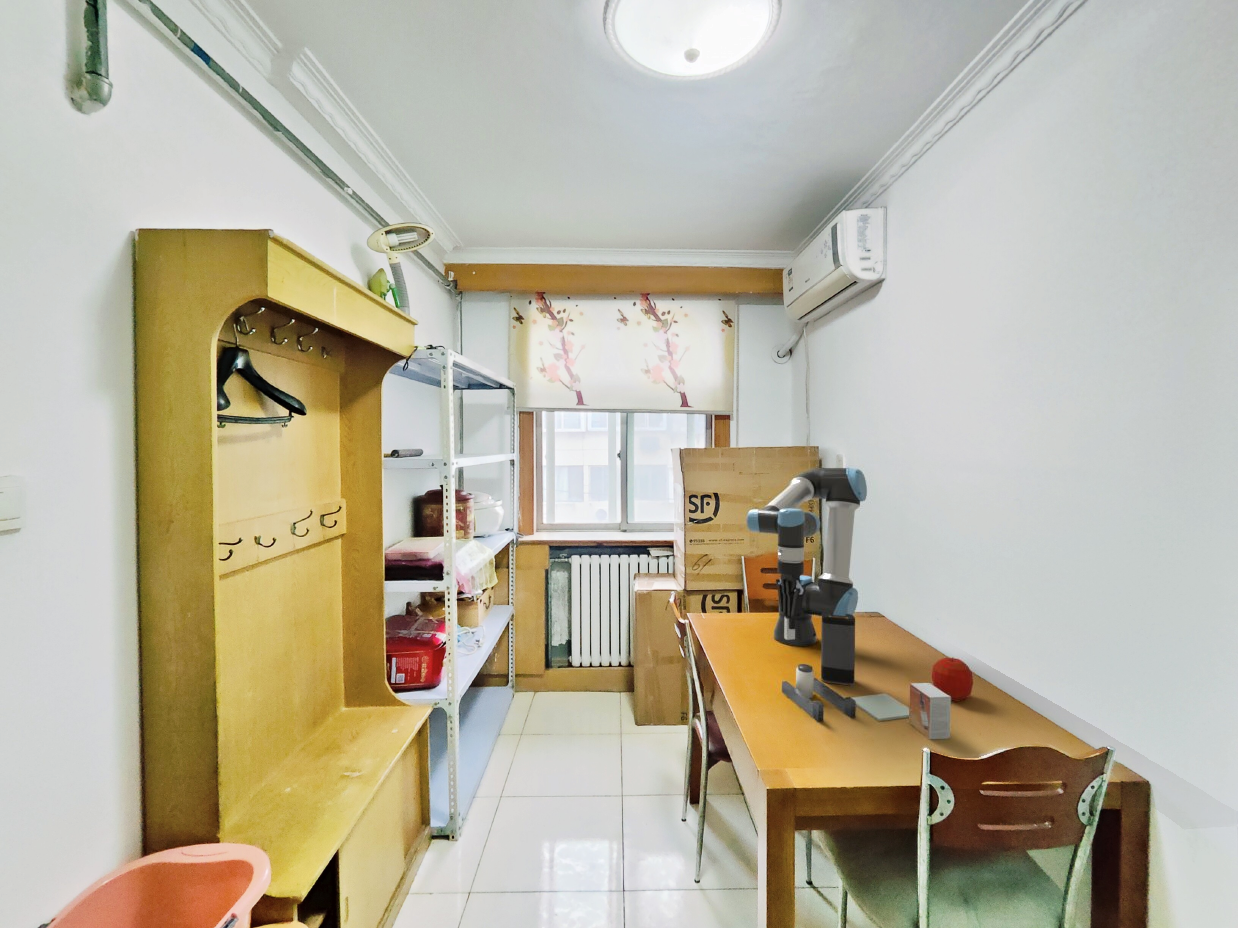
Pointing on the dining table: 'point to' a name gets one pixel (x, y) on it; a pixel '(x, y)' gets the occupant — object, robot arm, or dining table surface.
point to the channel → (816, 707)
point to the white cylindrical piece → (805, 680)
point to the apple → (952, 678)
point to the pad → (882, 707)
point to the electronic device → (838, 649)
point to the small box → (930, 710)
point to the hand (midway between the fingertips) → (789, 638)
